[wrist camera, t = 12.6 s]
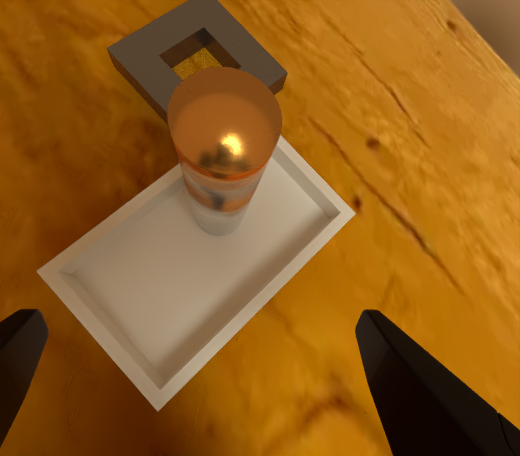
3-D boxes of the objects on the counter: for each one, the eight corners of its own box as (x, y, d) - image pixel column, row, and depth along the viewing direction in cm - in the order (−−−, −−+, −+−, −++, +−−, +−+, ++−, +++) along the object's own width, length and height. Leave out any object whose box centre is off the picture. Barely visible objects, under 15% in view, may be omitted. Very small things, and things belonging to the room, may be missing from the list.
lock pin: (252, 215, 22) (304, 126, 10) (216, 246, 21) (221, 194, 9) (221, 180, 22) (231, 47, 10) (184, 209, 21) (142, 106, 9)
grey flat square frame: (282, 88, 26) (287, 72, 24) (196, 154, 24) (194, 142, 22) (207, 11, 27) (206, -11, 25) (115, 67, 24) (106, 48, 22)
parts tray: (338, 222, 24) (355, 213, 21) (166, 393, 20) (157, 411, 17) (249, 128, 25) (253, 106, 22) (61, 274, 20) (36, 271, 17)
